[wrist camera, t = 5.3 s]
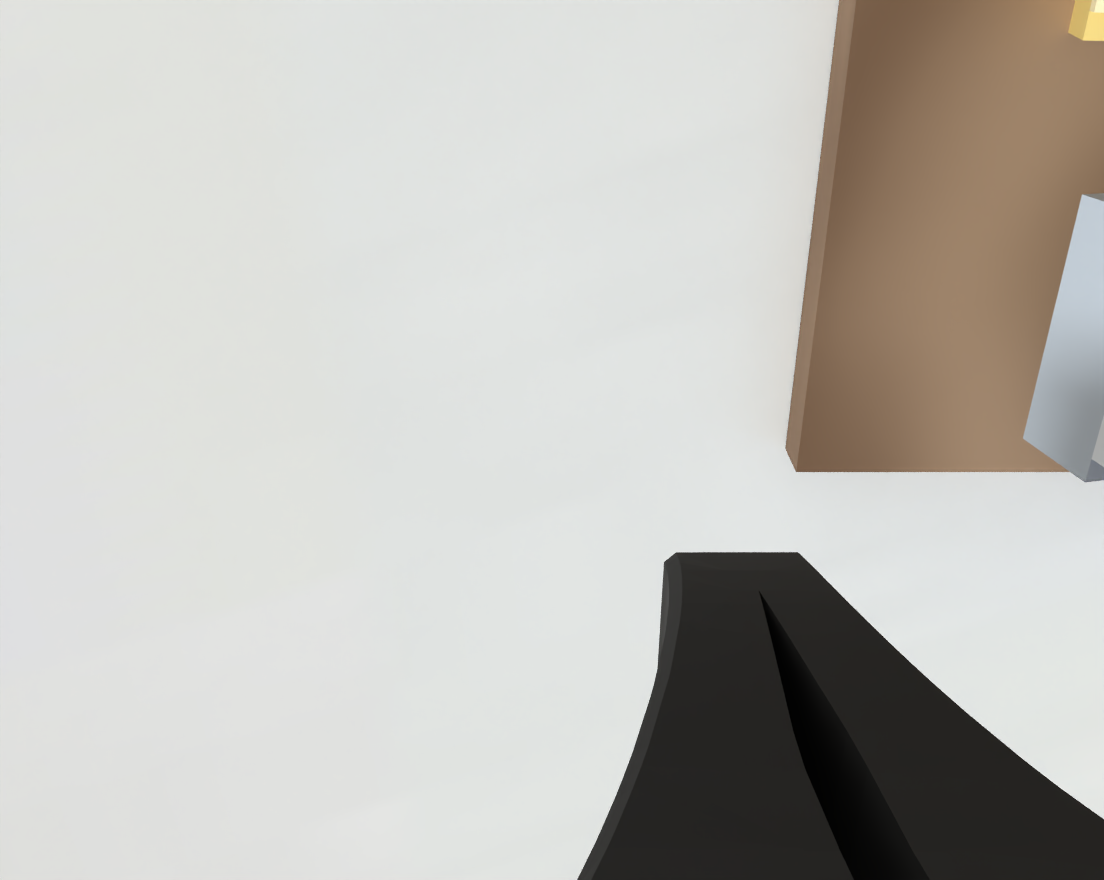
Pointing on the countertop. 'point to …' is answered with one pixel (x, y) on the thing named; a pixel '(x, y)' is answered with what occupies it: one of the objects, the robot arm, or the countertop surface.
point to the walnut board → (941, 232)
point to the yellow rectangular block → (1088, 20)
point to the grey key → (1075, 356)
